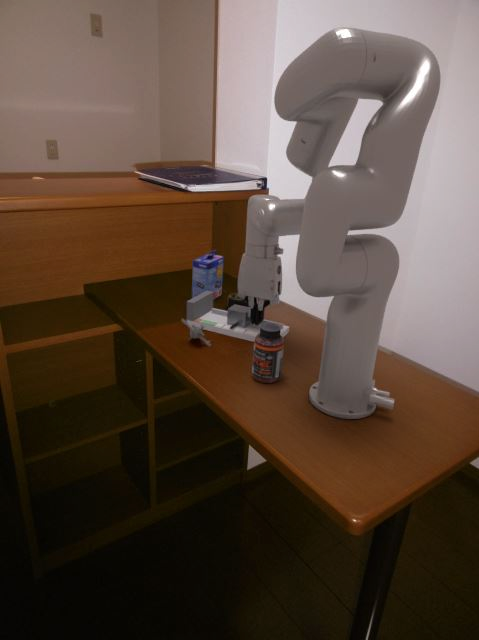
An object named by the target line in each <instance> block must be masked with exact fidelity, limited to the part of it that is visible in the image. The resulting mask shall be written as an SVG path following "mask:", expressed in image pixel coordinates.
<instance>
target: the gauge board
mask: <svg viewBox="0 0 479 640" xmlns="http://www.w3.org/2000/svg"><path fill="white" fill-rule="evenodd" d="M186 319H187V323H188V324H189V325H190V326H192V325H194V326H196V327H198V326H199V325H200V324H201V323H202V324H201V325H203V327H204V326H206V327H205V328H204V329H203V330H205V331H208V332H211V333H212V332H213V333H217V334H220V335H224V336H228V337H232V338H236V339H241V340H246V341H249V342H252V343H253V342H254V341H255V337H256V336H257V335H258V334H259V333H260V327H261V325H262V324H265V323H273V324H277V325H279V326H280V328H281V330H280V335H281V336H282V337H283V338H284V337H285V336H287V334H289V332H290V326H288V325H285V324H284V323H281V322H278V321H277V322H276V321H273V320H269V319H265V318H264V320H263V321H262V322H261V323H260V324H259V325H255V324H250V325H248V326H247V327H246V328H242V327H238V326H235V327H234V328H233V329H230V327H231V326H232V325H229V324H227V310H225V309H220V308H215V307H214V299H213V292H212V291H205V292H203V293H201V294H199V295H198V296H196V297H194V298H192V297H191V299H188V300H186ZM192 327H193V326H192Z"/></svg>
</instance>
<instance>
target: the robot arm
mask: <svg viewBox="0 0 479 640" xmlns="http://www.w3.org/2000/svg"><path fill="white" fill-rule="evenodd" d="M441 79H442V77H441V69H440V64H439V62H438V59H437V57H436V55H435V53H433V51H432V50H431V49H430V48H429V47H427V46H426V45H425V44H423V43H421V42H420V41H417V40H415V39H412V38H408V37H405V36H401V35H397V34H392V33H385V32H377V31H372V30H367V29H361V28H354V27H347V26H345V27H336V28H333V29H331V30H329V31H327V32H325V33H324V34H323V35H321V36H320V37H318V38H317V39H316V40H315V41H314V42H313V43H311V44H310V45H309V46H308V47H307V48H306V49H305V50H304V51H302V52H301V53H300V54H299V55H297V57H296V58H294V59H293V60H292V61H291V62H290V63H289V64H288V65H287V67H286V68H285V69H284V70H283V72H282V74H281V75H280V77H279V79H278V81H277V84H276V87H275V92H274V98H273V100H274V102H273V103H274V108H275V111H276V113H277V115H278V116H279V118H281V119H282V120H284V121H287V122H296V123H295V125H294V127H293V131H292V133H291V136H290V139H289V141H288V143H287V145H286V150H285V154H286V158H287V160H288V162H289V163H290V164H291V165H292V166H293V167H294V168H295V169H297V170H298V171H300V172H302V173H304V174H305V175H307V176H309V177H311V183H310V184H309V186H308V190H307V193H306V195H305V197H304V198H289V199H288V198H287V199H281V198H280V197H279V196H275V195H272V194H271V195H270V194H254V195H251V196H250V197H249V199H248V201H247V211H246V212H247V213H246V229H245V230H246V233H245V249H244V250H245V251H244V253H243V254H242V256H241V260H240V264H239V267H238V276H237V277H238V278H237V293H238V297H240V298H242V299H245V300H246V302H247V303H248V304H249V308H251V313H250V319H251V324H255V325H259V324H260V323H261V322H262V321H263V320H264V319H265V310H266V309H265V308H267V307H268V306H276V305H279V304H280V302H281V301H280V296H281V295H282V291H283V267H282V258H281V256H279V255H283V254H284V248H281V247H280V244H279V241H280V240H279V238H280V237H286V236H298V235H299V237H298V238H299V239H298V245H297V251H296V259H295V275H296V280H297V283H298V285H299V287H300V288H301V290H302V292H304V293H305V294H307V295H308V296H310V297H313V298H327V297H328V298H329V297H330V298H331V297H332V299H331V301H330V304H329V306H328V309H327V315H326V321H325V329H324V335H323V344H322V350H321V360H320V368H319V376H318V381H316V382H314V383H313V384H312V385H310V387H309V390H308V400H309V401H310V404H312V406H314V407H315V408H316V409H317V410H318V411H320V412H322V413H324V414H326V415H328V416H331V417H335V418H337V419H338V418H340V419H346V420H353V419H354V420H355V419H363V418H366V417H368V416H371V415H372V414H373V413H374V412H375V410H376V408H377V406H380V407H382V408H385V409H388V410H393V408H394V404H395V398H391V397H390V396H391V395H390V394H391V393H390V391H386V390H380V389H378V387H376V386H375V384H376V379H373V376H374V369H375V364H376V359H377V354H378V349H379V348H378V347H379V344H380V337H381V331H382V328H383V323H384V317H385V312H386V308H387V304H388V302H389V301H388V300H389V298H390V294H391V292H392V290H393V287H394V285H395V282H396V280H397V276H398V274H399V269H400V255H399V251H398V249H397V247H396V245H395V244H394V243H393V241H392V240H390V239H389V238H387V237H386V236H383V235H379V234H375V233H358V234H349V232H350V231H351V232H352V231H362V230H363V231H364V230H374V229H375V230H376V229H383V228H384V229H385V228H388V227H390V226H393V225H395V224H396V223H397V222H398V221H399V220H400V219H401V217H402V215H403V214H404V211H405V208H406V205H407V201H408V198H409V194H410V191H411V186H412V182H413V178H414V175H415V172H416V168H417V167H416V166H417V164H418V160H419V154H420V151H421V148H422V147H421V146H422V143H423V139H424V136H425V132H426V131H427V127H428V125H429V123H430V120H431V117H432V114H433V112H434V109H435V107H436V104H437V100H438V97H439V94H440V87H441ZM359 99H360V100H373V101H379V102H381V103H382V105H381V106H380V107H379V108H378V109H377V110H376V111H375V113H374V114H373V115H372V117H371V119H370V120H369V122H367V125H366V127H365V129H364V131H363V135H362V136H361V137H362V138H361V143H360V147H359V152H358V157H357V159H356V162H355V163H354V164H350V165H349V164H346V165H345V164H341V165H339V164H337V165H332V166H329V165H330V163H331V161H332V158H333V156H334V155H335V153H336V150H337V148H338V145H339V143H340V141H341V139H342V136H343V135H344V133H345V131H346V129H347V126H348V124H349V122H350V120H351V118H352V116H353V114H354V111H355V110H356V107H357V104H358V101H359ZM258 299H259V300H258Z"/></svg>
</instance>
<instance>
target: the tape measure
mask: <svg viewBox="0 0 479 640" xmlns="http://www.w3.org/2000/svg"><path fill="white" fill-rule="evenodd" d="M234 304H236V305H240V306H245V307H249V304H248V303H247V302H246V300H245V299H242V298H240V297H238V292H235V293H231V294H228V295H227V298H226V305H227V309H228V308H230V307H231V306H233V305H234Z"/></svg>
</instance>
